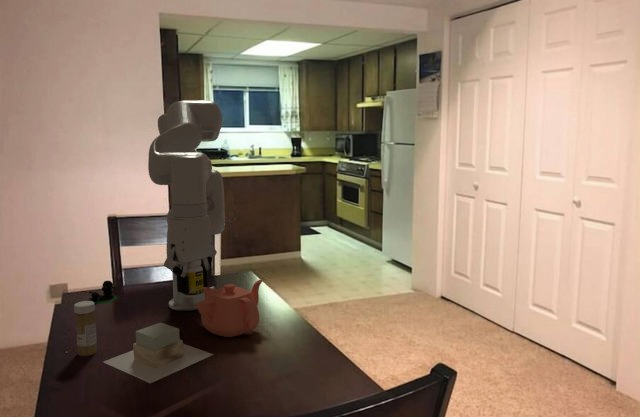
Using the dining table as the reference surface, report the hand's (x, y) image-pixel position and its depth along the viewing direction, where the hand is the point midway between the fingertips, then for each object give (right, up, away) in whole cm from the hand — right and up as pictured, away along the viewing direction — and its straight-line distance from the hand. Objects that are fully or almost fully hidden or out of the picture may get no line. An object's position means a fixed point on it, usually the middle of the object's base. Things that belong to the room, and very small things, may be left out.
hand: (192, 288), depth 120 cm
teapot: (+5, -16, +24) cm, 29 cm away
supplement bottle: (0, -2, 0) cm, 2 cm away
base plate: (-9, -18, +5) cm, 21 cm away
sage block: (-9, -13, +4) cm, 17 cm away
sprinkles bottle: (-28, -18, +9) cm, 34 cm away
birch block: (-9, -17, +5) cm, 20 cm away
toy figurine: (-42, -12, +52) cm, 68 cm away
